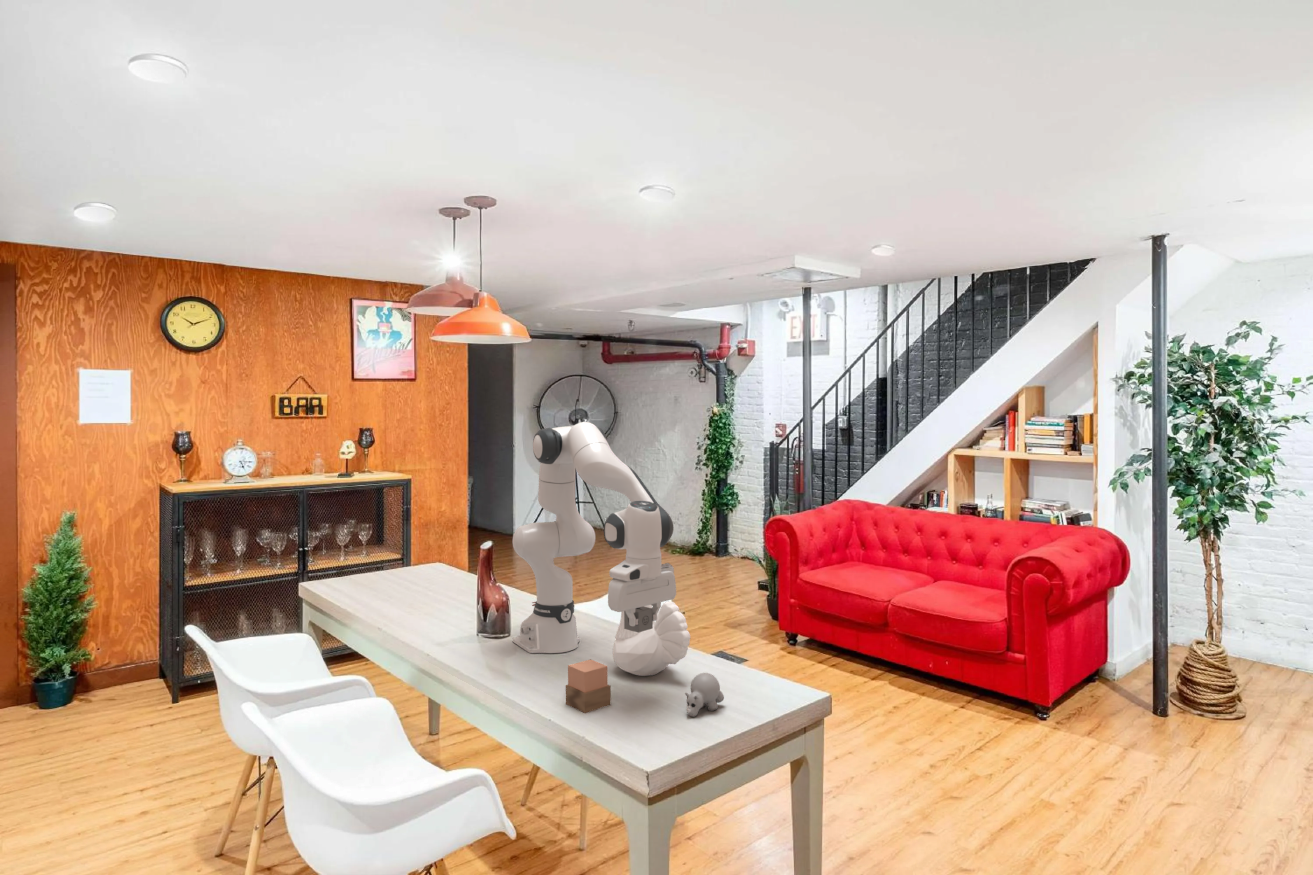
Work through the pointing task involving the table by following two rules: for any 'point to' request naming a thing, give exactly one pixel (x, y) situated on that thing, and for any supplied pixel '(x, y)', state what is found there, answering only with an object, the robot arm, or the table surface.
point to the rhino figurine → (703, 694)
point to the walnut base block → (588, 698)
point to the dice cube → (640, 619)
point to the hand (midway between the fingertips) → (643, 622)
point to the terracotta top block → (587, 675)
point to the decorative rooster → (652, 643)
